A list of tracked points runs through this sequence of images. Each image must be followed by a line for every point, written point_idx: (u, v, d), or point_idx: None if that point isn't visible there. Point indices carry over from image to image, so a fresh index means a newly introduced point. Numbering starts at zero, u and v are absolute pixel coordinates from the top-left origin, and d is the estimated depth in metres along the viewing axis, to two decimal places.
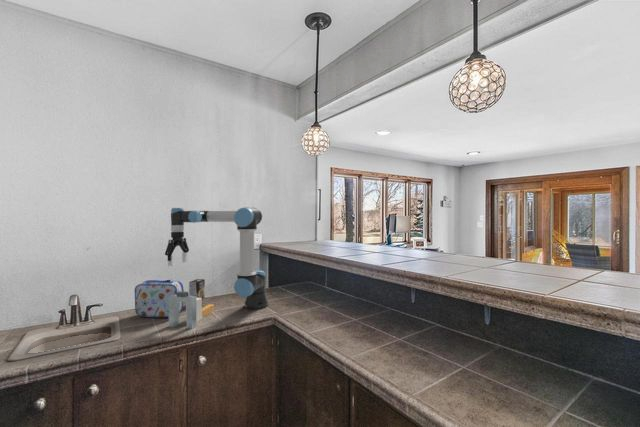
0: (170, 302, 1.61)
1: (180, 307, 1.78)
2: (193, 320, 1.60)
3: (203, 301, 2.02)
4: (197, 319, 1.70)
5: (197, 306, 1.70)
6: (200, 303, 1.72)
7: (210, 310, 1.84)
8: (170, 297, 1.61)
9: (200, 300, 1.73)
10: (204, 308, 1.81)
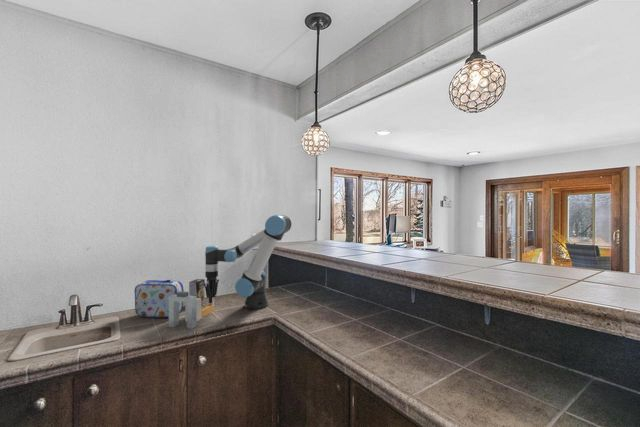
0: (170, 302, 1.61)
1: (180, 307, 1.78)
2: (193, 320, 1.60)
3: (203, 301, 2.02)
4: (196, 319, 1.69)
5: (196, 306, 1.69)
6: (199, 303, 1.71)
7: (209, 310, 1.84)
8: (170, 297, 1.61)
9: (200, 301, 1.72)
10: (203, 308, 1.80)
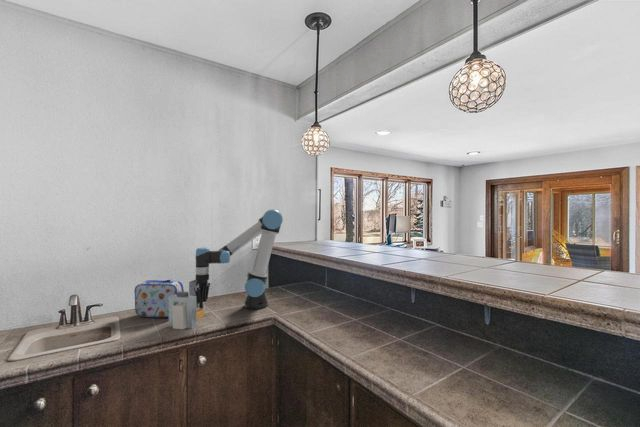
0: (170, 302, 1.61)
1: None
2: (193, 320, 1.60)
3: None
4: (184, 326, 1.59)
5: (184, 312, 1.59)
6: None
7: (199, 316, 1.74)
8: (170, 297, 1.61)
9: None
10: None
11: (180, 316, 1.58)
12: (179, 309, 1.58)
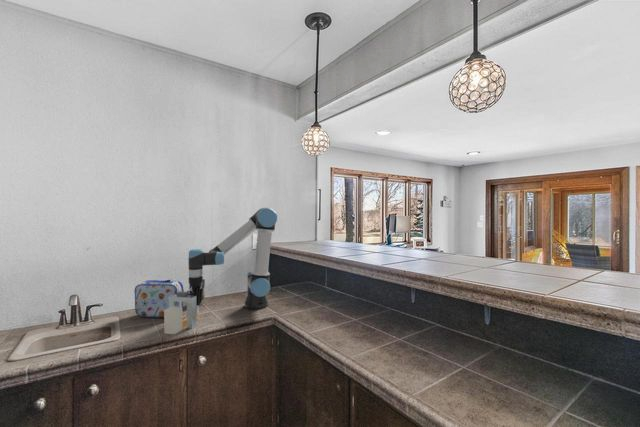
0: (170, 302, 1.61)
1: None
2: (193, 320, 1.60)
3: (203, 301, 2.02)
4: (176, 331, 1.53)
5: (176, 316, 1.53)
6: (180, 313, 1.55)
7: None
8: (170, 297, 1.61)
9: (180, 310, 1.56)
10: (186, 318, 1.64)
11: (172, 321, 1.51)
12: (170, 313, 1.52)
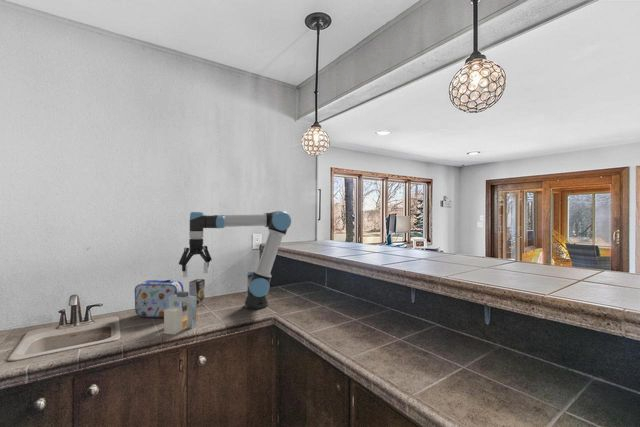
0: (170, 302, 1.61)
1: None
2: (193, 320, 1.60)
3: (203, 301, 2.02)
4: (176, 331, 1.53)
5: (176, 316, 1.53)
6: (180, 313, 1.55)
7: None
8: (170, 297, 1.61)
9: (180, 310, 1.56)
10: (186, 318, 1.64)
11: (171, 321, 1.51)
12: (170, 313, 1.51)
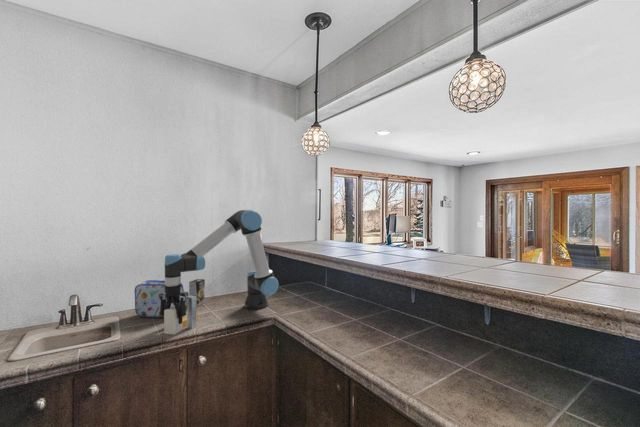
0: None
1: None
2: (193, 320, 1.60)
3: (203, 301, 2.02)
4: (176, 331, 1.53)
5: (176, 316, 1.53)
6: None
7: None
8: None
9: None
10: (186, 318, 1.64)
11: (171, 321, 1.51)
12: (170, 313, 1.51)
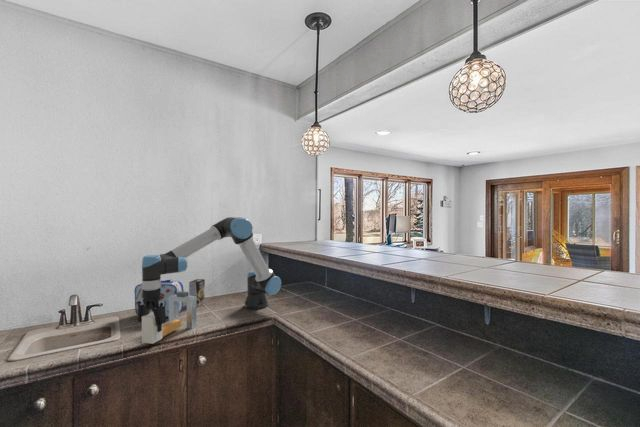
0: (170, 302, 1.61)
1: (180, 307, 1.78)
2: (193, 320, 1.60)
3: (203, 301, 2.02)
4: (155, 340, 1.39)
5: (155, 324, 1.39)
6: None
7: (175, 327, 1.53)
8: (170, 297, 1.61)
9: None
10: (167, 325, 1.50)
11: (150, 329, 1.37)
12: (148, 320, 1.37)
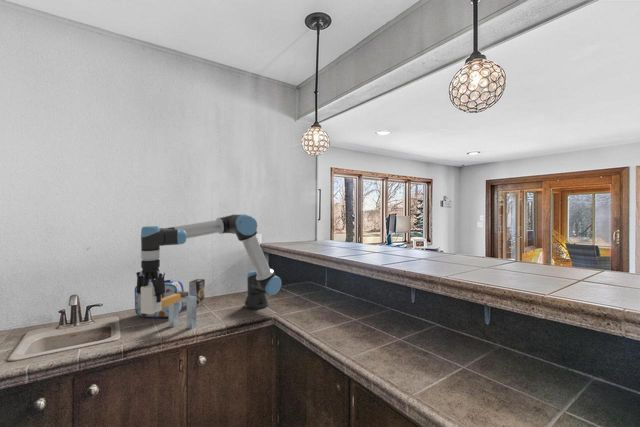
0: None
1: (180, 307, 1.78)
2: (193, 320, 1.60)
3: (203, 301, 2.02)
4: (154, 310, 1.38)
5: (154, 294, 1.38)
6: None
7: (174, 300, 1.53)
8: None
9: None
10: (166, 298, 1.49)
11: (149, 299, 1.37)
12: (147, 291, 1.37)
